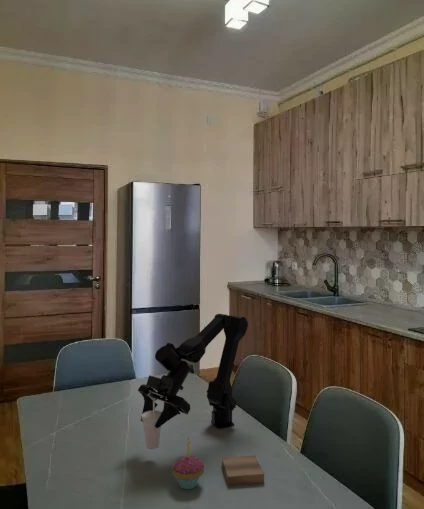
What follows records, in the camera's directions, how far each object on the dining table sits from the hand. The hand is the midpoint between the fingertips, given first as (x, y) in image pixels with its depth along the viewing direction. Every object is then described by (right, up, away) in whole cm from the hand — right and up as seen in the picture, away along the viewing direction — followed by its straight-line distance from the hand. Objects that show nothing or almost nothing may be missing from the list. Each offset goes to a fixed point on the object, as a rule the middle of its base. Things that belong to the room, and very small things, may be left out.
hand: (148, 424), depth 126 cm
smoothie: (+1, -7, +1) cm, 7 cm away
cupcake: (+12, -12, -11) cm, 21 cm away
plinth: (+27, -11, -6) cm, 30 cm away
